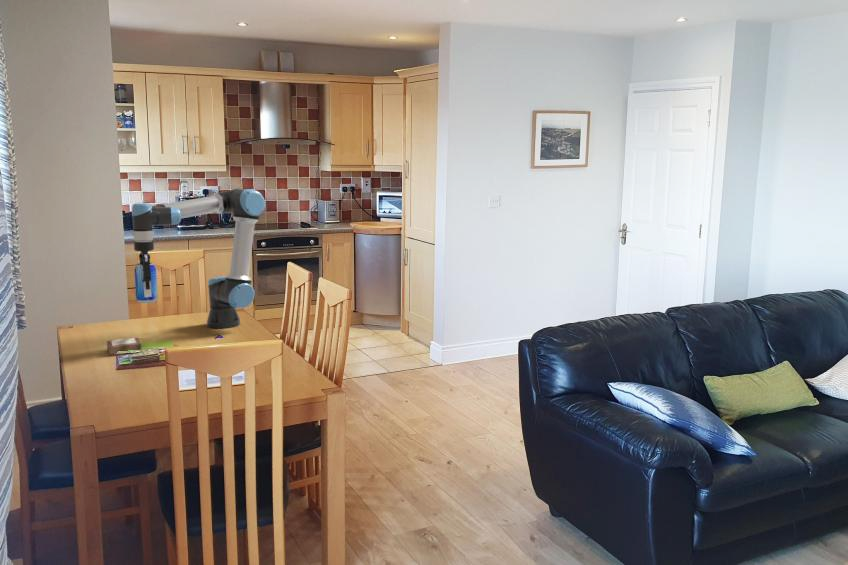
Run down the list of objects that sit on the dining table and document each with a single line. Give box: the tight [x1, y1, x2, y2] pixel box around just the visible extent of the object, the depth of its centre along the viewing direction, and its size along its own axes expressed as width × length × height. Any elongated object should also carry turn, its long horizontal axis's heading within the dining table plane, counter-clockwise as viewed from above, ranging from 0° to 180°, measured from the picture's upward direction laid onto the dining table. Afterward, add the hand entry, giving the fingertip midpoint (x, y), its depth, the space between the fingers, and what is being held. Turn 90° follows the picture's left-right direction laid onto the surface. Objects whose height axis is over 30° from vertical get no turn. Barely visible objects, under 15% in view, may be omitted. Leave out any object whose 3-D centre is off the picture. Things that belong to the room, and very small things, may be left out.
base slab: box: [106, 337, 142, 357], centre depth 298 cm, size 12×12×4 cm
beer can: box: [133, 262, 159, 304], centre depth 300 cm, size 8×8×16 cm
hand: (146, 295), depth 301 cm, fingers closed on beer can, 8 cm apart
